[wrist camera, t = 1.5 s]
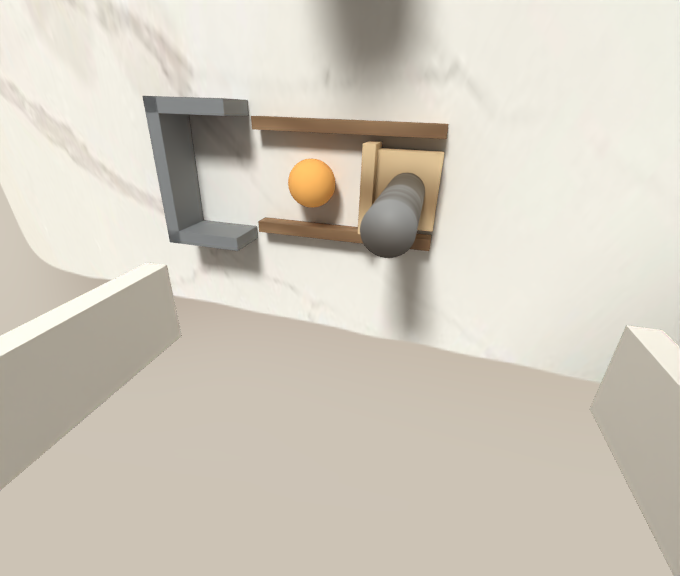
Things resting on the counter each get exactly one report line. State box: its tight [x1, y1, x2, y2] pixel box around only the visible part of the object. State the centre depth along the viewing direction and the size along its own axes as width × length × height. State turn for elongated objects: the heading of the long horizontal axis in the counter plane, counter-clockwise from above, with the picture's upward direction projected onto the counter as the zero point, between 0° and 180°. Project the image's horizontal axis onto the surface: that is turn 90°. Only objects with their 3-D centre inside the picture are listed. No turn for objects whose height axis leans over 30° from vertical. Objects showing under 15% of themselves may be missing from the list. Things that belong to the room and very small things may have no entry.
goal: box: [143, 96, 258, 251], centre depth 33 cm, size 12×7×4 cm, turn 178°
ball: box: [288, 159, 335, 208], centre depth 31 cm, size 4×4×4 cm
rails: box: [251, 116, 449, 251], centre depth 31 cm, size 10×16×2 cm, turn 88°
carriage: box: [358, 141, 444, 258], centre depth 25 cm, size 7×6×13 cm
